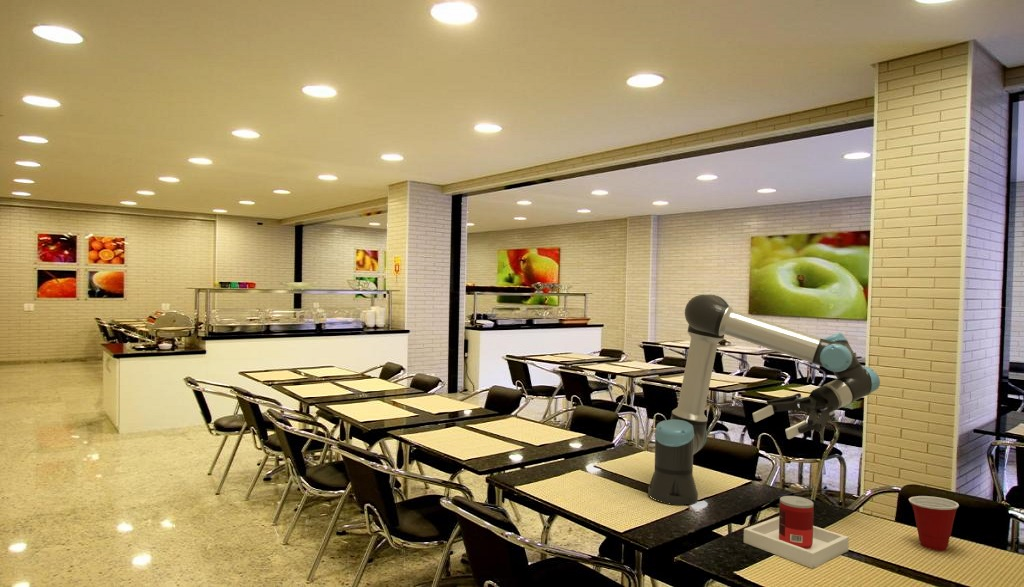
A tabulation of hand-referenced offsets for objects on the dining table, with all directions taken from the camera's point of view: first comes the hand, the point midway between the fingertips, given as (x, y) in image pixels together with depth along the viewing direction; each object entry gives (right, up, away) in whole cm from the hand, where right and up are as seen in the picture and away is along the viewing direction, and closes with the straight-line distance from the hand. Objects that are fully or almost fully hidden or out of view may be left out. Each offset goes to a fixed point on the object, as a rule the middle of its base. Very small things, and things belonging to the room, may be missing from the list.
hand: (769, 425), depth 172 cm
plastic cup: (+37, -29, -13) cm, 48 cm away
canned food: (0, -27, -16) cm, 31 cm away
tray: (0, -27, -16) cm, 32 cm away
